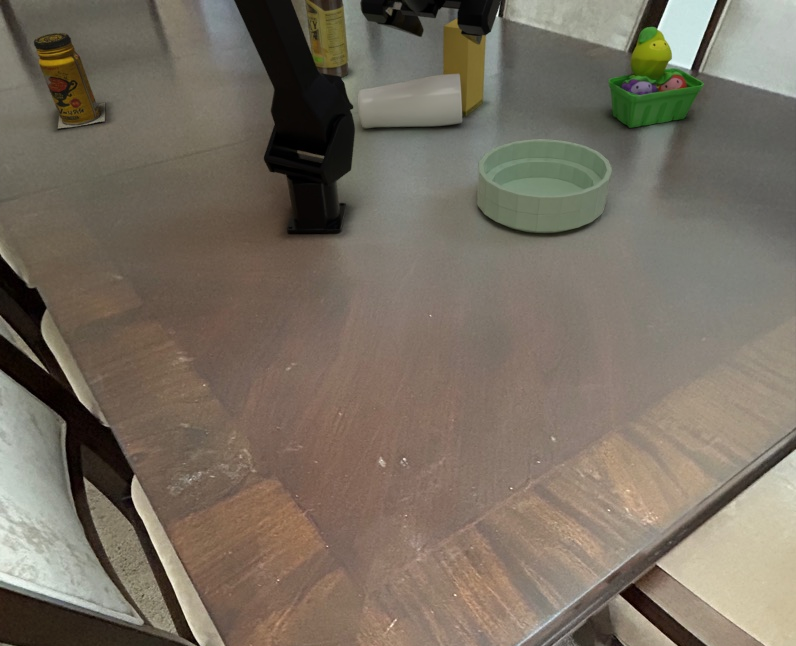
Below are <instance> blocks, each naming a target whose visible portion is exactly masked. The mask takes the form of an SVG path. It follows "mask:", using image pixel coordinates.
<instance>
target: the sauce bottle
mask: <svg viewBox="0 0 796 646" xmlns="http://www.w3.org/2000/svg"><path fill="white" fill-rule="evenodd" d="M304 2H305V3H304V4H305V10H306V18H307V19H306V20H307V27H308V36H309V42H310V43H309V44H310V51H311V54H312V56H313V59H314V62H315V64H316V67H317V69H318V71H319V72H320V73H324V74H330V75H336V76H340V77H341V78H344V77H345V76H347V75H348V73H349V63H348V62H349V52H348V51H349V50H348V40H347V30H346V18H345V8H344V6H345V5H344V2H343V0H304Z"/></svg>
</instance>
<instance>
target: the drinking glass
mask: <svg viewBox="0 0 796 646" xmlns="http://www.w3.org/2000/svg"><path fill="white" fill-rule="evenodd" d="M357 112H358V119H359V123H360V126H361V127H362V128H363V129H371V128H372V129H374V128H407V127H408V128H410V127H414V128H415V127H417V128H419V127H421V128H422V127H423V128H424V127H442V126H443V127H445V126H451V125H452V126H453V125H458V124H462V123H463V116H462V101H461V83H460V74H443V73H442V74H435V75H429V76H424V77H418V78H414V79H409V80H403V81H398V82H394V83H389V84H384V85H379V86H375V87H374V86H373V87H366V88H361V89H359V90H358V92H357Z"/></svg>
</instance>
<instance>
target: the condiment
mask: <svg viewBox="0 0 796 646" xmlns="http://www.w3.org/2000/svg"><path fill="white" fill-rule="evenodd" d="M33 45H34V47H35V49H36V54H37V56H38V57H39V58H38V65H39V68H40V70H41V73H42V74H43V77H44V80H45V82H46V85H47V88H48V89H49V94H50V95H51V98H52V100H53V104H54V106H55V108H56V110H57V113H58V124H57V129H64V128H65V129H66V128H74V127H81V126H86V125H91V124H96V123H101V122H106V102H101V103H98V104H97V101H96V98H95V95H94V92H93V90H92V87H91V84H90V82H89V79H88V76H87V73H86V70H85V67H84V64H83V61H82V59H81V56H80V55H79V53H77V51H76V50H75V47H74V44H73V43H72V38H71V37H70V35H69V34H68V33H63V32H54V33H47V34H44V35H41V36H37V37H36V38H35V39H34V40H33Z"/></svg>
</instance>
